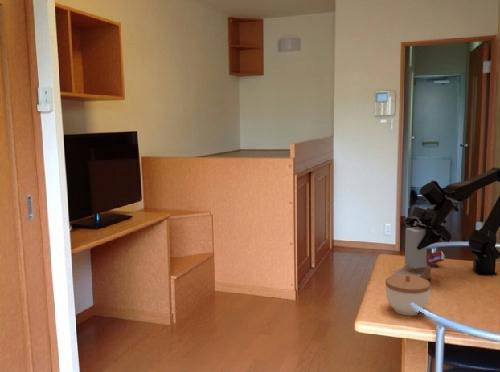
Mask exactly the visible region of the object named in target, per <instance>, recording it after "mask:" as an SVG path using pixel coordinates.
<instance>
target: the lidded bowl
mask: <svg viewBox="0 0 500 372" xmlns="http://www.w3.org/2000/svg"><path fill="white" fill-rule="evenodd" d="M430 288H431V282H430V281H429V280H428V279H427V280H426V279H423V278H420V277H416V276H411V275H395V276H393V275H391V276H387V278H386V279H385V295H386V300H387V302H388V303H389V305H390V306H391V308H392V309H393V310H394V312H395V313H396V314H399V315H403V316H417V315H418V314H417V312H415V311H414V310H413V309H412V308H411V307H410V305H409V304H410V303H412V302H414V303H415V304H417V305H418V306H420V307H422V308H424V309H425V308H426V306H427V305H428V302H429V298H430V291H431V289H430Z"/></svg>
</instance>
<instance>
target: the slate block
mask: <svg viewBox="0 0 500 372" xmlns="http://www.w3.org/2000/svg"><path fill="white" fill-rule="evenodd" d="M425 234H426V230H425V229H422V228H419V227H413V228H409V227H408V228H405V245H404V250H405V251H404V265H408V266H410V267H412V268H420V267H426V265H427V264H426V255H427V253H428V251H427V247H428V246H427V247H425V248H423V249H420V250H418V249H417V247H418V245H419V243H420V242H421V241H422V239H423V238H424V236H425Z"/></svg>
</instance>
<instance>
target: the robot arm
mask: <svg viewBox="0 0 500 372" xmlns="http://www.w3.org/2000/svg"><path fill="white" fill-rule="evenodd" d="M495 182H498V183H500V167H496V166H493V167H491V168H490V169H489V170H487V171H485V172H482V173H480V174H478V175H475V176H473V177H472V178H469V179H467V180H464V181H457V182H453V183H450V184H447V185H446V186H445V187H441V186H440V184H439V183H438V181H437V180H431V181H430V182H427V183H426V184H424V185H423V186H421V188H420V189H419V194H420V195H421V197H423V199H424V200H425V201H426V202H427V203H428V204H429V205H432V206H433V205H434V206H433V207H431V208H430V207H426V209H425V208H421V207H417V206H414V207H413V210H412V213H411V216H407V217H406V218H405V219H404V221H403V223H405V225H406V226H407V227H408V228H413V227H419V228H422V229H425V230H426V234H425V236H424V238H423V239H422V241H421V242H420V243H419V245H418V247H417V249H418V250H420V249H423V248H425V247H428V246H431V245H433V244H436V243H438V242H439V243H440V242H442V241H443V242H446V243H450V241H451V239H452V237H453V236H452V235H453V234H452V233H451V232H450V231H449V230H448V228H447V227H446V226H444V225H446V223H447V222H448V221H446V219H447V218H448V217H449V215H450V214H451V213H452V212H456V213H458V212H459V211H460V209H459V205H458V203H463V202H465V201H467V200H468V199H470V198H471V197H472V195H473V194H474V193H475V192H476V191H479V190H480V189H483V188H485V187H487V186H489V185H491V184H493V183H495ZM453 201H454V202H458V203H454V202H453ZM417 218H418V219H417ZM443 224H444V225H443ZM499 229H500V194H499V195H498V197H497V199H496V201H495V203H494V205H493V207H492V209H491V211H490V212H489V214H488V216H487V218H486V220H485V222H484V224H483V225H482V227H481V228H479V229H473V230H472V232H471V235H470V236H469V238H468V246H469V249H470V251H471V254H472V255H474V258H473V259H472V260H473V262H472V270H473V271H474V272H475V273H476V274H477V275H481V276H482V275H483V276H488V275H489V276H497V275H498V273H497V272H496V263H497V262H496V260H499V259H500V251H499V249H498V248H496V245H497V232H498V230H499Z"/></svg>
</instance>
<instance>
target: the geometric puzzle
mask: <svg viewBox="0 0 500 372" xmlns="http://www.w3.org/2000/svg"><path fill="white" fill-rule="evenodd" d="M444 261H445V254H444V253H443V251H442V250H441V249H440V250H439V249H438V250H433V248H429V251H428V252H427V253H426V265H427V266H432V267H436V268H438V267H439V266H440V265H438V264H441V263H443V262H444ZM433 265H434V266H433Z"/></svg>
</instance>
